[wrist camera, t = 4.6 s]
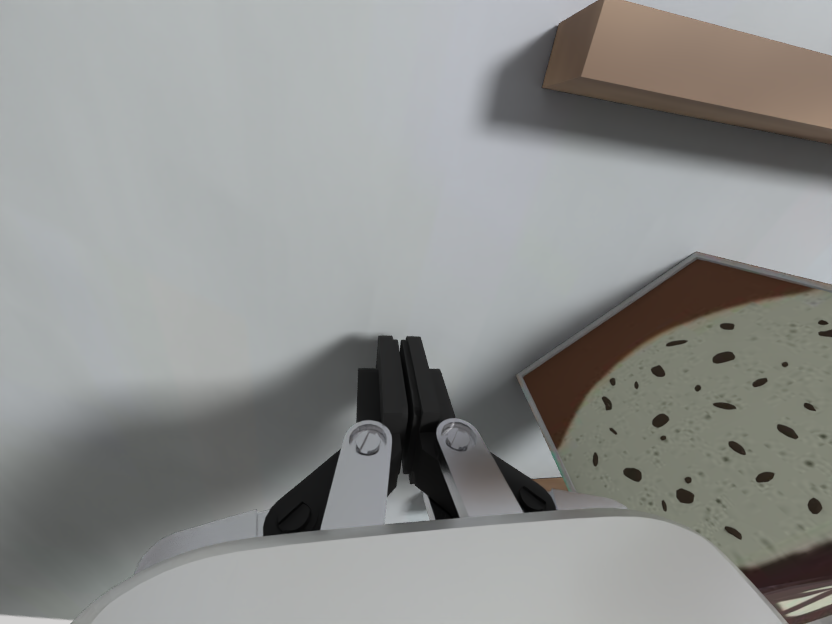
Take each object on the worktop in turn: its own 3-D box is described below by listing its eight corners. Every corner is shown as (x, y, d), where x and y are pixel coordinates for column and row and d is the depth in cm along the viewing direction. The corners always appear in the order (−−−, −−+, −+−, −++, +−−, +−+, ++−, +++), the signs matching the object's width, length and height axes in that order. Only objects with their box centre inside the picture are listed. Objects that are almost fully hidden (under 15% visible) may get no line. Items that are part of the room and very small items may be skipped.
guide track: (764, 476, 25) (794, 502, 23) (433, 499, 20) (440, 533, 18) (1105, 154, 14) (1211, 157, 12) (558, 23, 9) (605, -5, 7)
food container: (545, 443, 18) (702, 712, 10) (490, 391, 16) (643, 703, 7) (752, 318, 16) (1222, 538, 7) (730, 227, 13) (1464, 410, 4)
